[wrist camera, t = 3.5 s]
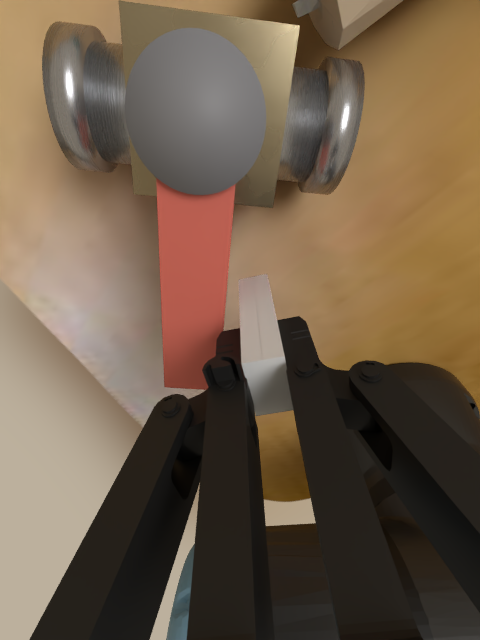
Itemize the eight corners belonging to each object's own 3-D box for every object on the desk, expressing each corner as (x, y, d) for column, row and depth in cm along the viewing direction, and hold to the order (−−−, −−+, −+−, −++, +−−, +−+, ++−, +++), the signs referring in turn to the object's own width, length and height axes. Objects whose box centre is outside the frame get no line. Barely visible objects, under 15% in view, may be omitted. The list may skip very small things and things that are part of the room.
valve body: (337, 58, 18) (386, 31, 12) (310, 190, 22) (338, 217, 16) (91, 26, 17) (19, -19, 11) (107, 170, 21) (59, 191, 15)
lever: (149, 44, 12) (117, 17, 9) (264, 59, 12) (276, 38, 9) (162, 344, 20) (147, 391, 16) (233, 349, 20) (233, 396, 17)
